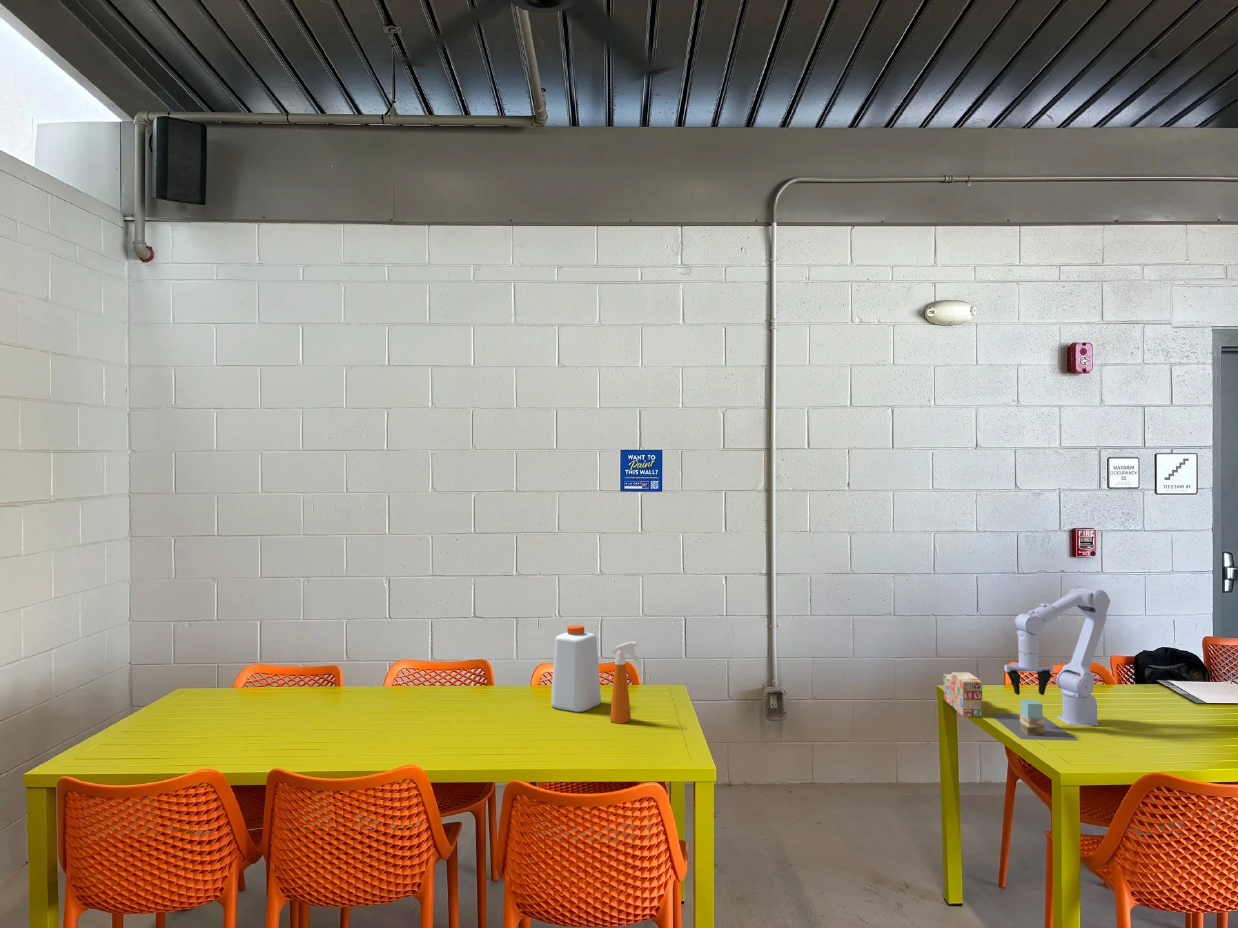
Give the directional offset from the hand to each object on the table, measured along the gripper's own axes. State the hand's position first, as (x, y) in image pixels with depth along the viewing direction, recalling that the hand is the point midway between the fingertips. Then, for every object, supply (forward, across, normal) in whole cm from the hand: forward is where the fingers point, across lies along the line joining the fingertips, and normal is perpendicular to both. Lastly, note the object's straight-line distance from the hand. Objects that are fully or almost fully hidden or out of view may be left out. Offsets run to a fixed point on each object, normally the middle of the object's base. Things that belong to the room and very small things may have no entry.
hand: (1029, 694), depth 252 cm
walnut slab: (+10, +2, +7) cm, 13 cm away
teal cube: (+5, +2, +7) cm, 9 cm away
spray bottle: (+10, +130, +1) cm, 131 cm away
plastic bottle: (+10, +149, -15) cm, 150 cm away
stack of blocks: (+11, +14, -19) cm, 26 cm away
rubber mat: (+10, 0, +1) cm, 10 cm away
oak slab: (+8, +2, +7) cm, 11 cm away
